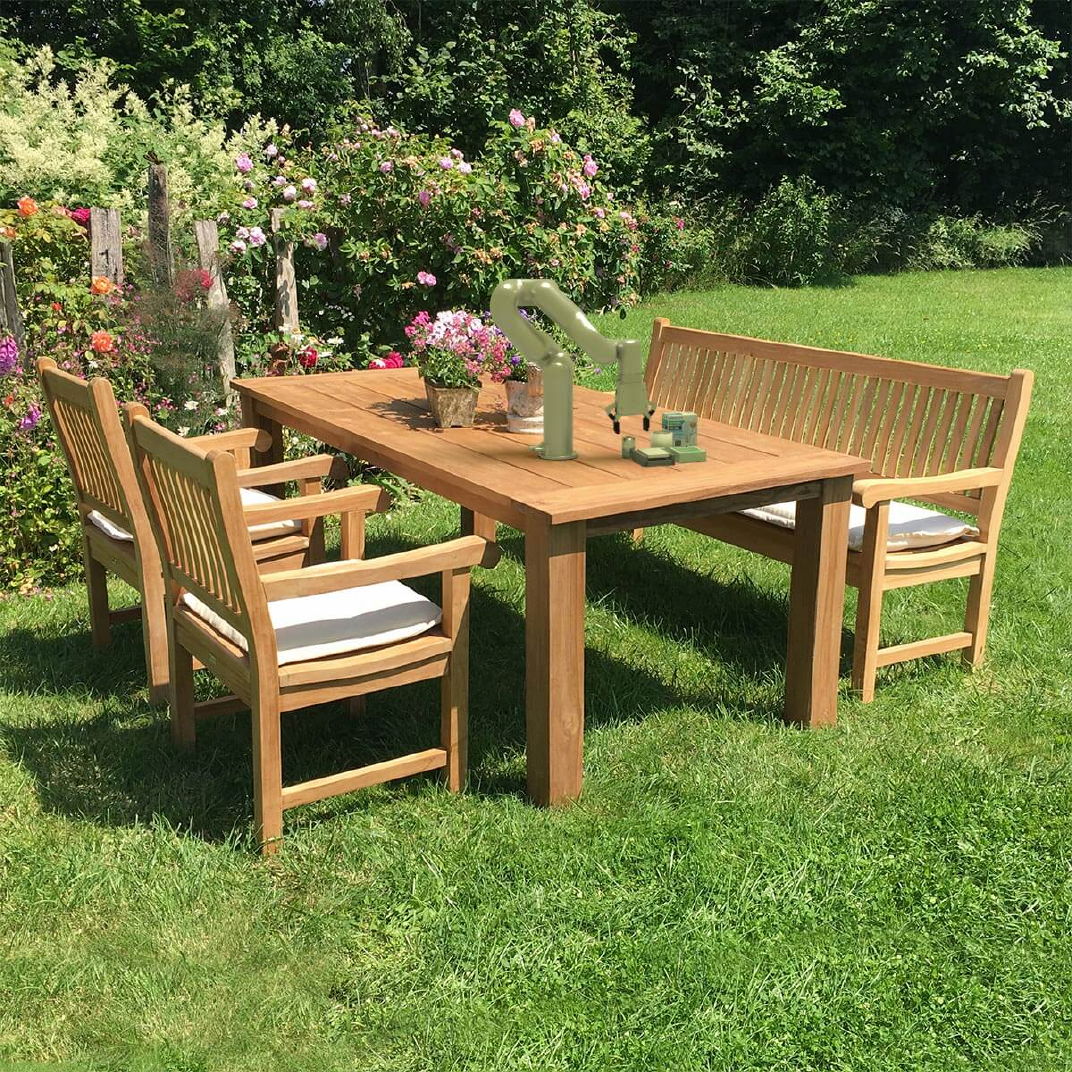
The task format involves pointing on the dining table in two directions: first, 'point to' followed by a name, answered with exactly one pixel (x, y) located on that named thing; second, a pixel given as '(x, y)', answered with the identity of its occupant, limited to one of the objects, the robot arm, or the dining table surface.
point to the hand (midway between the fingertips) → (631, 432)
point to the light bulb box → (681, 428)
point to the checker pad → (653, 452)
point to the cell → (627, 446)
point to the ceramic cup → (661, 439)
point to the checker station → (653, 459)
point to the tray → (688, 454)
